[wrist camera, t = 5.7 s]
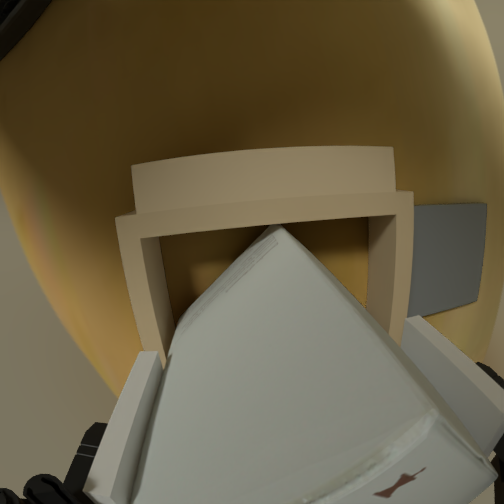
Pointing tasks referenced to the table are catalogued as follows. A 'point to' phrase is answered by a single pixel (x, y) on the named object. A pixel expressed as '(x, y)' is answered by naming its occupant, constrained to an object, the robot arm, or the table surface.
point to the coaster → (446, 256)
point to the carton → (266, 218)
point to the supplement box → (298, 399)
